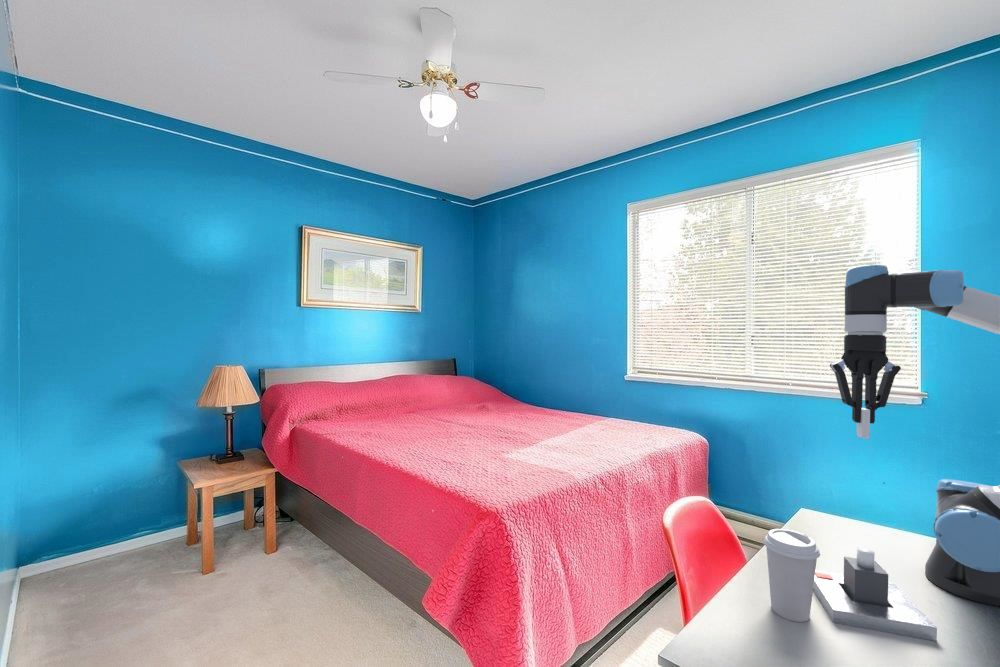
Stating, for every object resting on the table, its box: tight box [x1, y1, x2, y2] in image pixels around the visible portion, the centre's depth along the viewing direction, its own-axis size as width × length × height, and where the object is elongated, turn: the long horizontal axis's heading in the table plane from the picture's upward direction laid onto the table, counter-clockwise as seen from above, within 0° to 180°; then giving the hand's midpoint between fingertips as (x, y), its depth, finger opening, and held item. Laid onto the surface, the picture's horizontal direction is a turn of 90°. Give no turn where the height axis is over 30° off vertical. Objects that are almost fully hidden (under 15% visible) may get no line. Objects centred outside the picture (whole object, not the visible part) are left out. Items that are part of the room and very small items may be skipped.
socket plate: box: [813, 569, 938, 642], centre depth 93 cm, size 16×16×3 cm
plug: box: [843, 546, 889, 607], centre depth 93 cm, size 6×6×11 cm
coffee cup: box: [763, 528, 821, 623], centre depth 91 cm, size 10×10×15 cm
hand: (863, 437), depth 104 cm, fingers closed
